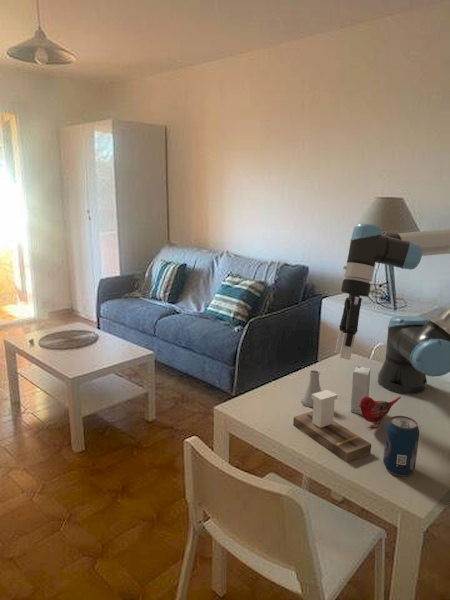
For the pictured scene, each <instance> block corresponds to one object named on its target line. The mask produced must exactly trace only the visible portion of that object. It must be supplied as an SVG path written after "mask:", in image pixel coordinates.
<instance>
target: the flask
mask: <svg viewBox="0 0 450 600" xmlns="http://www.w3.org/2000/svg"><path fill="white" fill-rule="evenodd" d="M308 373H309V379H308V383H307V386H306V389H305V391H304V393H303V395H302V397H301V399H300V402H301V404H302V405H303V406H305V407H310V408H313V404H314V400H313V399H311V395H312V394H314V393H318V392H321V391H322V388H321V385H320V375H321V371H319V370H317V369H310V370H309V372H308Z"/></svg>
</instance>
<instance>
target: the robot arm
mask: <svg viewBox="0 0 450 600" xmlns="http://www.w3.org/2000/svg"><path fill="white" fill-rule="evenodd" d="M382 232H383V230H382V227H381V226H380V225H375V224H371V223H359V224H356V225H354V228H353V231H352V233H351V238H350V243H349V250H348V255H347V260H346V265H344V266H343V268H342V269H343V270H345V271H344V275H343V276H344V277H345V279H343V280H342V285H341V289H340V291H341V293H344V294H348V297H346V298H345V300H344V308H343V311H342V316H341V320H340V322H339V323H340V324H339V331H338V335H337V341H336V347H335V350H334V353H335V354H338V355H339V359H344V360H351V357H352V353H353V348H354V343H355V339H356V337H355V336H356V334H357V333H358V327H359V318H360V312H361V311H360V310H361V306H362V301H363V299H362V297H364V298H365V297H367V298H368V297H369V296H370V291H371V287H372V284H371V283H370V282H372V281H373V277H374V273H375V266H376V263H377V264H381V265H386V266H391V267H395V268H399V269H403V270H405V269H406V270H410V271H411V270H414V269H416V268H417V267H418V266H419V264H420V263H421V260H422V257H425V256H436V255H449V254H450V228H445V229H434V230H423V231H411V232H410V231H409V232H400V233H399V232H398V233H388V234H383V233H382ZM386 339H387V340H386V347H385V348H386V349H385V359H384V361H383V364H382V366H381V368H380V371H379V372H378V375H377V383H378V385H380V386H381V388H382V387H383V388H384V389H386V390H389V391H392V392H395V393H400V394H409V395H412V394H415V395H416V394H420V393H423V392H425V391H426V390H427V384H428V380H427V377H442V376H445V375H447V374H449V373H450V306H449V307H448V308H447V309H446V310H445V311H444V312H443V313H442V314H441V315H440V316H439V317H438V318H436V319H435V318H434V319H429V320H428V319H427V318H425V317H422V316H421V317H420V316H414V315H413V316H411V315H398V316H397V315H395V316H393V317H392V316H391V318H389V321H388V326H387V338H386Z"/></svg>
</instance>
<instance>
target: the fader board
mask: <svg viewBox="0 0 450 600" xmlns="http://www.w3.org/2000/svg"><path fill="white" fill-rule="evenodd" d="M312 420H313V410H312V411H309V412H305V413H302V414H298V415H295V416H293V420H292V421H293V426H294V427H295V428H297V429H298V430H300V431H301V432H303V433H304V435H306V436H308V437H310V438H311V439H312V440H314V441H315V442H316V443H318V444H320V445H321V446H322V447H323V448H325V449H326V450H328V451H330V452H331V453H332V454H334V455H335V456H336V457H338V458H340V459H341V460H342V461H344V462H345V463H349V462H352V461H354V460H357V459H360V458H362V457H365V456H366V455H370V454H371V452H372V443H371V442H369V441H367V440H366V439H364V438H362V437H361V436H359V435H358V434H356V433H354V432H353V431H351V430H349V429H348V428H346V427H345V426H342V425H341V424H340V423H338V422H336V421H335V420H333V424H330V425H327V426H324V427H321V428H320V427H318V426H316V425H315V424H313V423H312Z"/></svg>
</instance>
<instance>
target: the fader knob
mask: <svg viewBox="0 0 450 600" xmlns="http://www.w3.org/2000/svg"><path fill="white" fill-rule="evenodd" d="M311 399H313V400H314V404H313V407H312V411H313V420H312V423H313V424H315V425H316V426H318V427H320V428H321V427H324V426H327V425H330V424H333V421H334V413H335V412H334V411H335V401H336V400H338V394H337V393H335V392H333V391H331V390H330V389H326V390H321V392H318V393H314V394H312V395H311Z"/></svg>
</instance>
